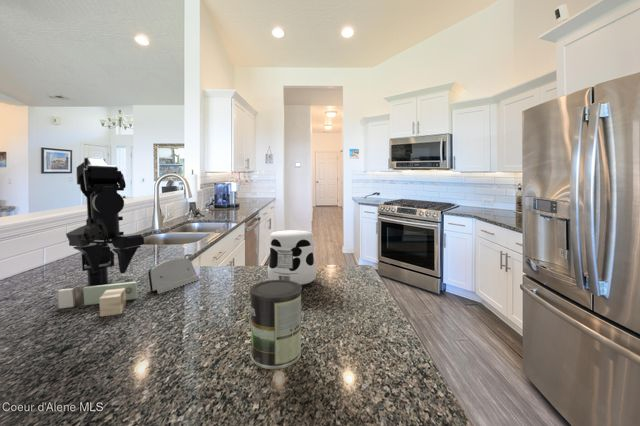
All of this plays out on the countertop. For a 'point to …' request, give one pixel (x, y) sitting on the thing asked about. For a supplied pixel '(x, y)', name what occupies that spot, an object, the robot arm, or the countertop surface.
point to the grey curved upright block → (171, 275)
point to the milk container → (292, 256)
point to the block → (112, 302)
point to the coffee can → (275, 323)
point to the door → (96, 292)
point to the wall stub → (66, 298)
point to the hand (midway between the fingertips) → (108, 272)
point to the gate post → (78, 295)
